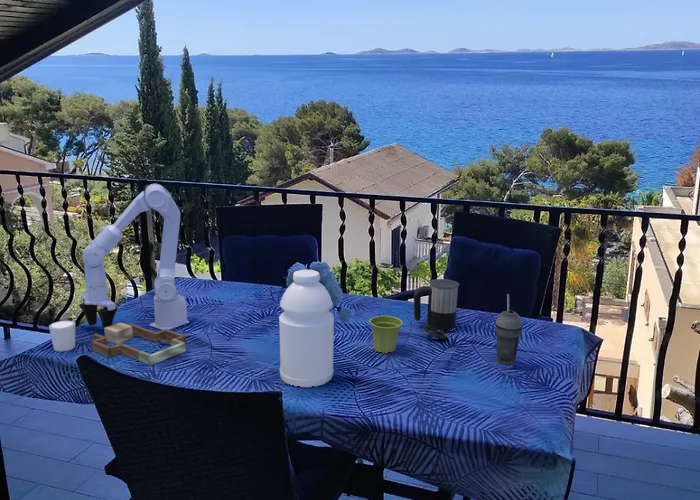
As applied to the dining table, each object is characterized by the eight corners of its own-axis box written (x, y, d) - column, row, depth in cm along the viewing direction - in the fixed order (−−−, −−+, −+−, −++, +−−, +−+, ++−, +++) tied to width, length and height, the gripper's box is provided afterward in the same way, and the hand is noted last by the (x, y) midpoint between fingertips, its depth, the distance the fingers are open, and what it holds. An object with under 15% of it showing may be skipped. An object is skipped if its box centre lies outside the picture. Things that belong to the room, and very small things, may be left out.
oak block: (121, 334, 189) (120, 322, 188) (133, 338, 186) (132, 326, 185) (105, 340, 184) (104, 327, 183) (117, 344, 181) (116, 331, 180)
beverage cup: (504, 372, 166) (510, 301, 161) (486, 362, 172) (491, 293, 167) (525, 367, 169) (531, 297, 164) (506, 357, 175) (512, 289, 171)
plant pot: (405, 346, 182) (407, 318, 180) (394, 358, 174) (395, 329, 172) (376, 341, 186) (377, 313, 184) (363, 352, 178) (364, 324, 176)
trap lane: (138, 327, 194) (138, 319, 194) (195, 347, 180) (195, 339, 179) (82, 346, 179) (82, 338, 179) (139, 369, 165) (139, 361, 164)
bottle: (312, 393, 153) (312, 284, 146) (268, 379, 160) (266, 274, 153) (343, 372, 165) (344, 270, 158) (301, 360, 172) (300, 262, 165)
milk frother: (448, 321, 203) (450, 277, 200) (472, 339, 189) (475, 292, 185) (408, 325, 199) (409, 281, 195) (429, 344, 184) (431, 296, 181)
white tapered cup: (67, 353, 175) (65, 329, 173) (46, 350, 176) (43, 327, 174) (82, 343, 181) (80, 321, 179) (61, 341, 182) (59, 319, 181)
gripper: (69, 283, 187) (74, 326, 191) (98, 292, 179) (102, 337, 183) (91, 278, 193) (95, 319, 196) (119, 286, 185) (123, 330, 188)
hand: (100, 327), depth 190 cm, fingers open, 7 cm apart
